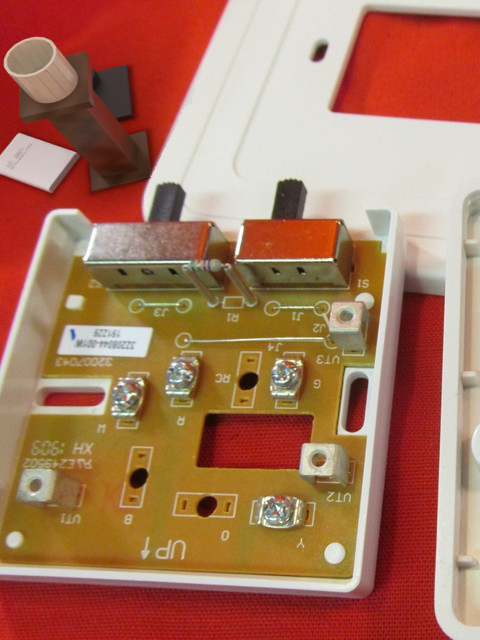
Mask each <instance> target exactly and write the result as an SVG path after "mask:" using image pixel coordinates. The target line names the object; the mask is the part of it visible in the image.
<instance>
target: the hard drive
mask: <svg viewBox="0 0 480 640" xmlns="http://www.w3.org/2000/svg"><path fill="white" fill-rule="evenodd" d="M80 158H81V155H80V153H79V152H76V151H74V150H70V149H67V148H65V147H62V146H60V145H59V146H58V145H56V144H53V143H50V142H47V141H44V140H41V139H38V138H35V137H33V136H29V135H27V134H25V133H22V132H18V133H17V134H16V135H15V136H14V137H13V139H12V140H11V141H10V143H9V144H7V146H6V148H5V149H4V150H3V151H2V152H1V154H0V175H1V176H4V177H7V178H11V179H13V180H15V181H18V182H21V183H23V184H26V185H28V186H31V187H34V188H36V189H37V188H38V189H40V190H43V191H45V192H48V193H50V194H51V193H54V191H55V190H56V189H57V187H58V186H59V185H60V184H61V182H62V181H63V180H64V179H65V177H66V176H67V175H68V174H69V172H70V171H71V169H72V168H73V167H74V165H75V164H76V163H77V162H78V160H79V159H80Z"/></svg>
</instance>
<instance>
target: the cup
mask: <svg viewBox="0 0 480 640" xmlns="http://www.w3.org/2000/svg"><path fill="white" fill-rule="evenodd" d="M64 56H65V55H64V54H63V53H62V52H61V50H60V49H59V48H58V47H57V45H56V44H55V42H53V40H51V39H49V38H46V37H44V36H43V37H42V36H41V37H40V36H33V37H29V38H25V39H23V40H21V41H19V42H17V43H15V44H13V46H12V47H11V48H9V50H8V51H7V52H6V54H5V56H4V59H3V68H4V69H5V70H6V72H7V73H8V74H9V76H10V77H11V78H12V79H13V80H14V81H15V83H17V85H18V86H19V85H20V86H21V87H22V89H23V90H24V91H25V92H26V93H27V94H28V95H29V96H30V97H31V98H32V99H33V100H35V101H37V102H40V103H53V102H57V101H60V100H62V99H64V98H65V97H67V96H68V95H69V94H71V93H72V91H73V90H74V89H75V87H76V85H77V83H78V75H77V72H76V71H75V69H74V68H73V67H72V66H71V64H70V63H69V62H68V61H67V59H66V58H65V57H64Z"/></svg>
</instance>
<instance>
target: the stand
mask: <svg viewBox="0 0 480 640" xmlns="http://www.w3.org/2000/svg"><path fill="white" fill-rule="evenodd" d="M63 56H64V57H65V58H66V59H67V61H68V62H69V63H70V64H71V66H72V67H73V68H74V69H75V71H76V72H77V75H78V83H77V85H76V87H75V89H74V90H73V91H72V93H71V94H69V95H68V96H67V97H65V98H64V99H62V100H60V101H57V102H53V103H40V102H37V101H35V100H33V99H32V98H31V97H30V96H29V95H28V94H27V93H26V92H25V91H24V90H23V89H22V87H21V86H20V85H19V84H18V86H19V87H18V88H19V90H18V92H19V93H18V95H19V97H18V98H19V119H20V120H21V121H22V122H23V123H24V124H25V125H26V124H31V123H34V122H38V121H39V122H40V121H43V120H48V121H49V122H50V123H51V125H52V126H53V127H54V128H55V129H56V130H57V132H59V134H61V135H62V137H63V138H64V139H65V140H66V141H67V142H68V143H69V145H71V146H72V147H73V148H74V149H75V151H77V153H78V154H79V155H80V157H82V158H83V159H84V160H85V161H86V162H87V163H88V165H89V175H90V188H91V192H92V193H97V192H101V191H106V190H109V189H113V188H118V187H121V186H125V185H130V184H133V183H137V182H141V181H145V180H148V179H149V180H150V178H149V177H150V175H151V173H152V174H153V171H152V165H151V154H150V146H149V145H150V144H149V135H148V132H147V130H143V131H139V132H134V133H131V134H129V133H128V132H127V130H126V129H125V127H123V126H122V124H121V122H120V121H119V122H118V120H117V119H116V118H115V117H114V115H113V114H112V113H111V112H110V110H109V109H108V108H107V106H106V105H105V104H104V103H103V101H102V100H101V99H100V98H99V96H98V95H97V94H96V93H95V91H94V90H93V86H92V72H91V67H92V60H91V56H90V55H89V54H88V52H87V51H86V50H84V51H81V52H77V53H73V54H68V55H63Z"/></svg>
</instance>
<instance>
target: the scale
mask: <svg viewBox="0 0 480 640" xmlns="http://www.w3.org/2000/svg"><path fill="white" fill-rule="evenodd" d="M91 72H92V86H93V90H94V91H95V93H96V94H97V95H98V96H99V98H100V99H101V100H102V101H103V103H104V104H105V105H106V106H107V108H108V109H109V110H110V112H111V113H112V114H113V115H114V117H115V118H116V119H117V120H118V122H119V123H120V122H123V121H126V120H127V121H128V120H130V119H131V120H132V119H134V118H135V115H134V104H133V103H134V102H133V94H132V84H131V83H132V82H131V73H130V68H129V66H128V64H122V65H118V66H117V65H116V66H114V67H110V68H104V69H101V70H97V71H96V70H95V69H94V68H93V67H92V66H91Z"/></svg>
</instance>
